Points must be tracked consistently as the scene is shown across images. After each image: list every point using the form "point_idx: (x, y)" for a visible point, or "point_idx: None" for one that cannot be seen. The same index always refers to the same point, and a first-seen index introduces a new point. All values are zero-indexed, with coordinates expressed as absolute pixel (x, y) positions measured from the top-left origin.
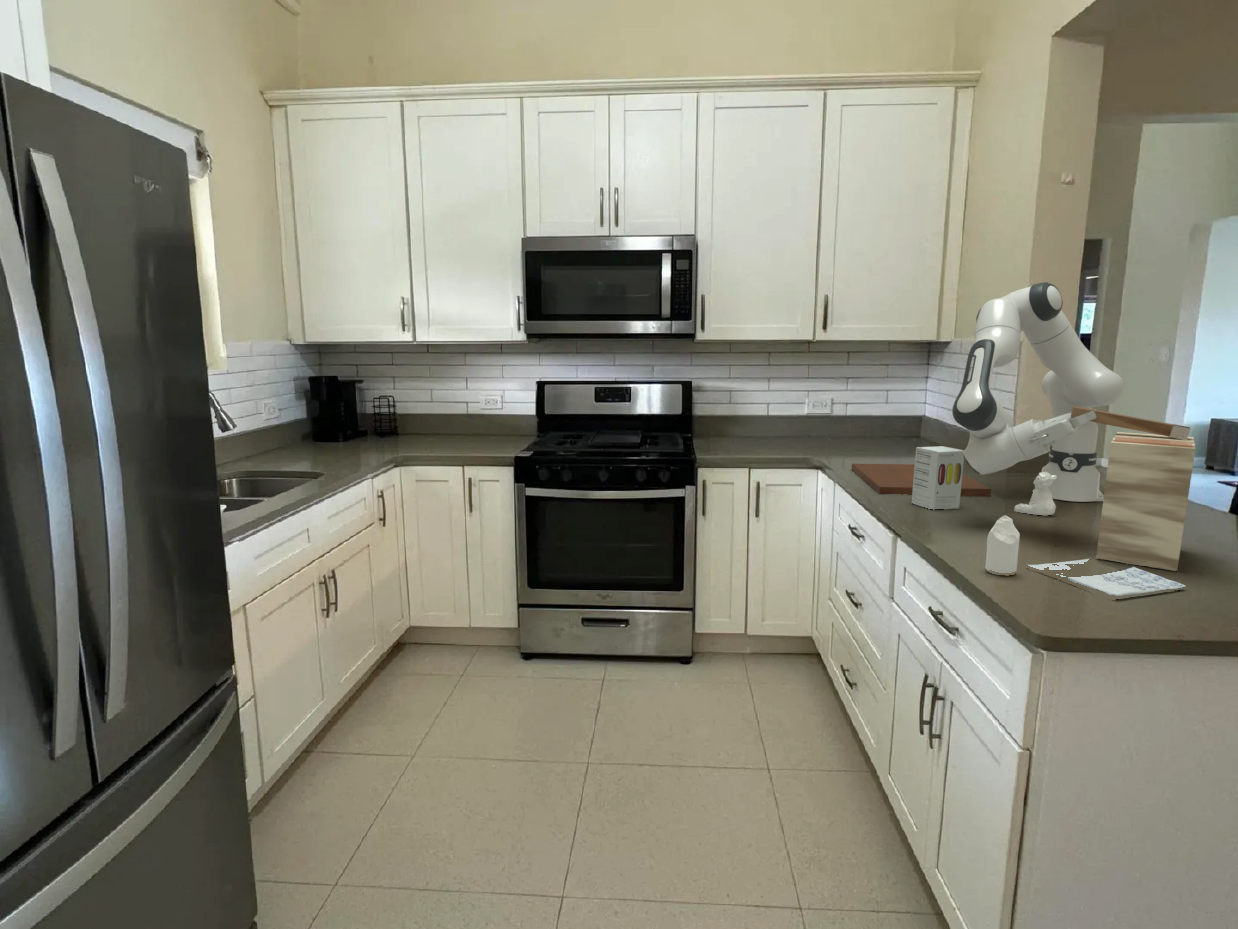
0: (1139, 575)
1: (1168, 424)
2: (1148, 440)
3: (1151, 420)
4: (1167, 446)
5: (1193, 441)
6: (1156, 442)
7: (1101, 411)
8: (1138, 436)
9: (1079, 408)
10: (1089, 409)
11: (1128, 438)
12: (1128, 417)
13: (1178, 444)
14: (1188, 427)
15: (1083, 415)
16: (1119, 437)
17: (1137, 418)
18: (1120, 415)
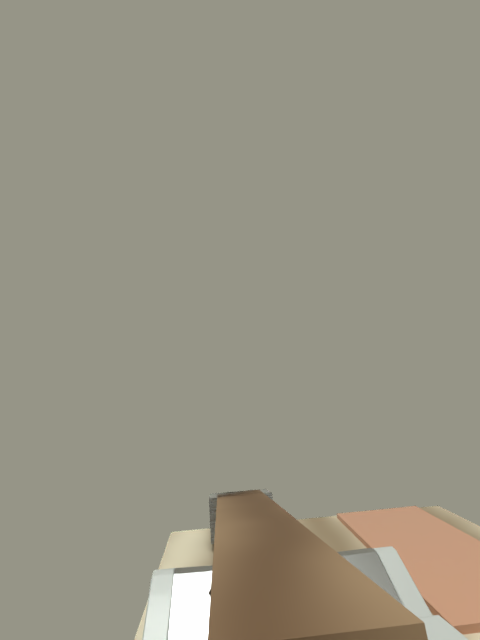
0: None
1: (255, 495)
2: (425, 552)
3: (227, 504)
4: (477, 527)
5: None
6: (453, 537)
7: (258, 544)
8: None
9: (384, 595)
10: (289, 567)
11: (450, 589)
12: (287, 512)
13: (427, 516)
14: (230, 492)
15: (458, 636)
16: (461, 613)
17: (257, 508)
18: (273, 519)
